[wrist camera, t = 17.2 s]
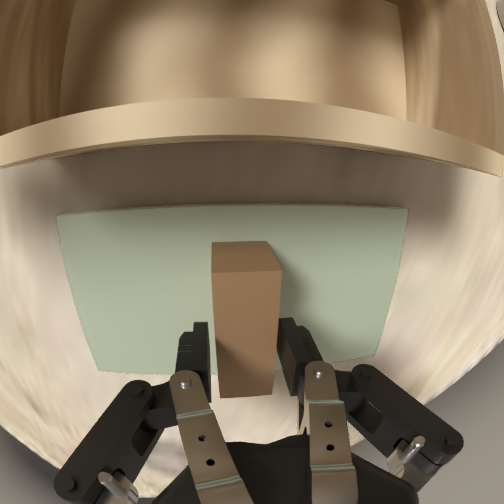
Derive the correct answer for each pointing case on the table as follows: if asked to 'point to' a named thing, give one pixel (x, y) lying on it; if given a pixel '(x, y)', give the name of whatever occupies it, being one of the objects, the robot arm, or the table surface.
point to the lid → (230, 282)
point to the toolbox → (252, 76)
